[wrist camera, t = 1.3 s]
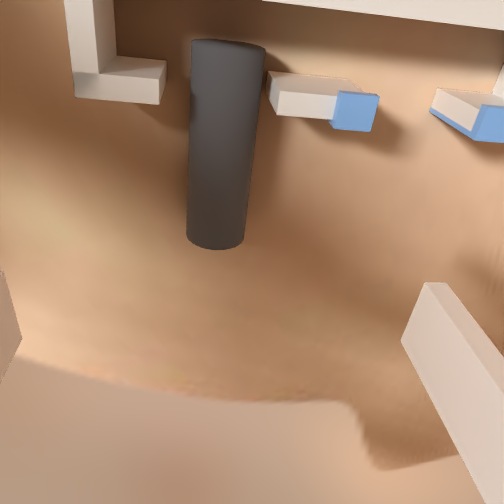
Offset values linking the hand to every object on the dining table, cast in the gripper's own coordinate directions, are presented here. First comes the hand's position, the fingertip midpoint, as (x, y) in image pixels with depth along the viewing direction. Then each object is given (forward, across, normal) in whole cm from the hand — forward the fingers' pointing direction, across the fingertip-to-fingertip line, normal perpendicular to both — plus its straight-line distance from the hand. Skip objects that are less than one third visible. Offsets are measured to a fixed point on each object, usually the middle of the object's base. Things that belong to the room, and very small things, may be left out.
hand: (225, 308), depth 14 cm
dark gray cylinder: (+17, 0, 0) cm, 17 cm away
